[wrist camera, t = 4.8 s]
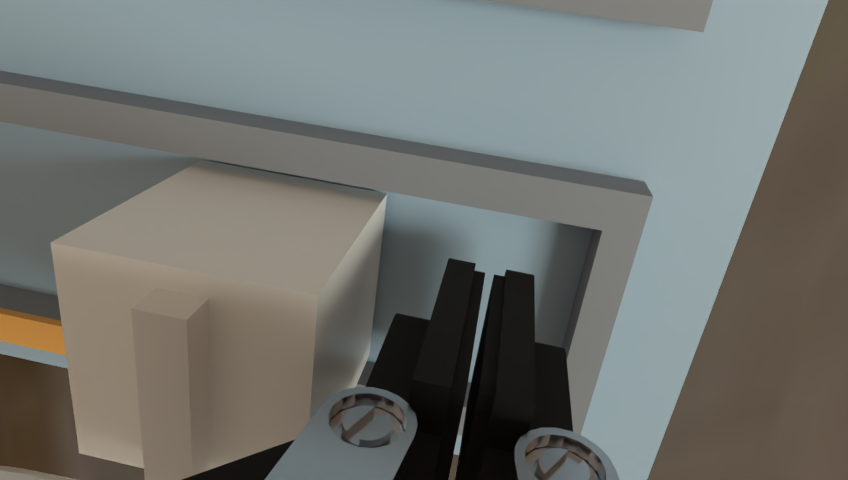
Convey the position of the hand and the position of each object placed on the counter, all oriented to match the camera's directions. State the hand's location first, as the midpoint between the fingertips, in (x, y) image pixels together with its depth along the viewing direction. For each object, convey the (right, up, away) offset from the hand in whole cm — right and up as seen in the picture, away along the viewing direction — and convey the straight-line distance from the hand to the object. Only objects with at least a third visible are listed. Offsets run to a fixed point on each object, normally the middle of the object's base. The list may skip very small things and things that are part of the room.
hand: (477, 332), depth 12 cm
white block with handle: (-4, +1, +1) cm, 4 cm away
